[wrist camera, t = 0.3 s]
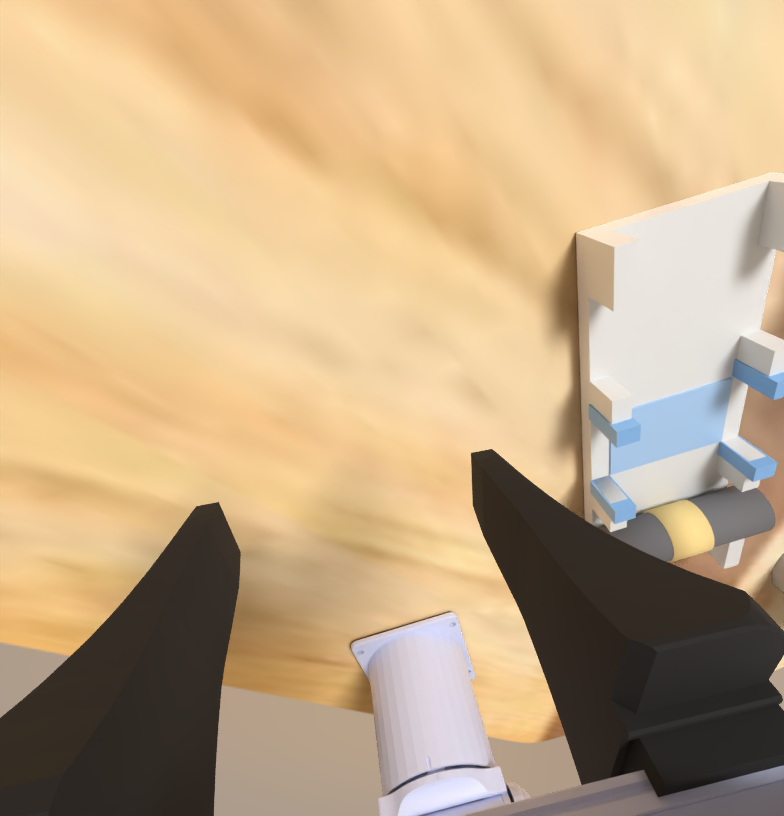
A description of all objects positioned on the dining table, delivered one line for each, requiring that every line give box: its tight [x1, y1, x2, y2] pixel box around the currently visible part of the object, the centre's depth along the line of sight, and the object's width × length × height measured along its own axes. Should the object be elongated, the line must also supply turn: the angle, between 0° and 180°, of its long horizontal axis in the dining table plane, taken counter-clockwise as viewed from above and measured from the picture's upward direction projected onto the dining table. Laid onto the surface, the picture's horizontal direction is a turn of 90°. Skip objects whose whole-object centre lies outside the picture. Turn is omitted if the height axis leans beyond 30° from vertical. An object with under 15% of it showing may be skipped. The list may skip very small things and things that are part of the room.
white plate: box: [576, 172, 784, 569], centre depth 25 cm, size 24×9×4 cm, turn 15°
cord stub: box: [597, 486, 775, 562], centre depth 28 cm, size 10×3×3 cm, turn 105°
